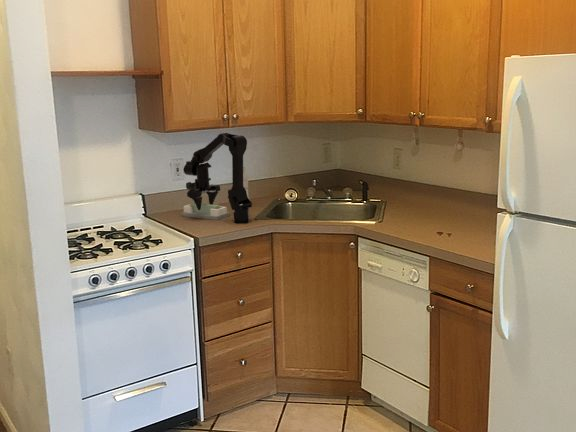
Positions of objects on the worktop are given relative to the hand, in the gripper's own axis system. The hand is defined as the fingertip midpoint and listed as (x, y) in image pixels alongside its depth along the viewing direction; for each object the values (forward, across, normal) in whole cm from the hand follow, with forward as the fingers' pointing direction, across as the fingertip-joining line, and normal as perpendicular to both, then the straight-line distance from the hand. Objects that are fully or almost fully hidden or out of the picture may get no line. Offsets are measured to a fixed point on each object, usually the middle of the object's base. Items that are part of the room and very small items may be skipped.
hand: (205, 208), depth 320 cm
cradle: (+4, 0, 0) cm, 4 cm away
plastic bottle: (+4, -24, +6) cm, 25 cm away
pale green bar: (+2, 0, 0) cm, 2 cm away
